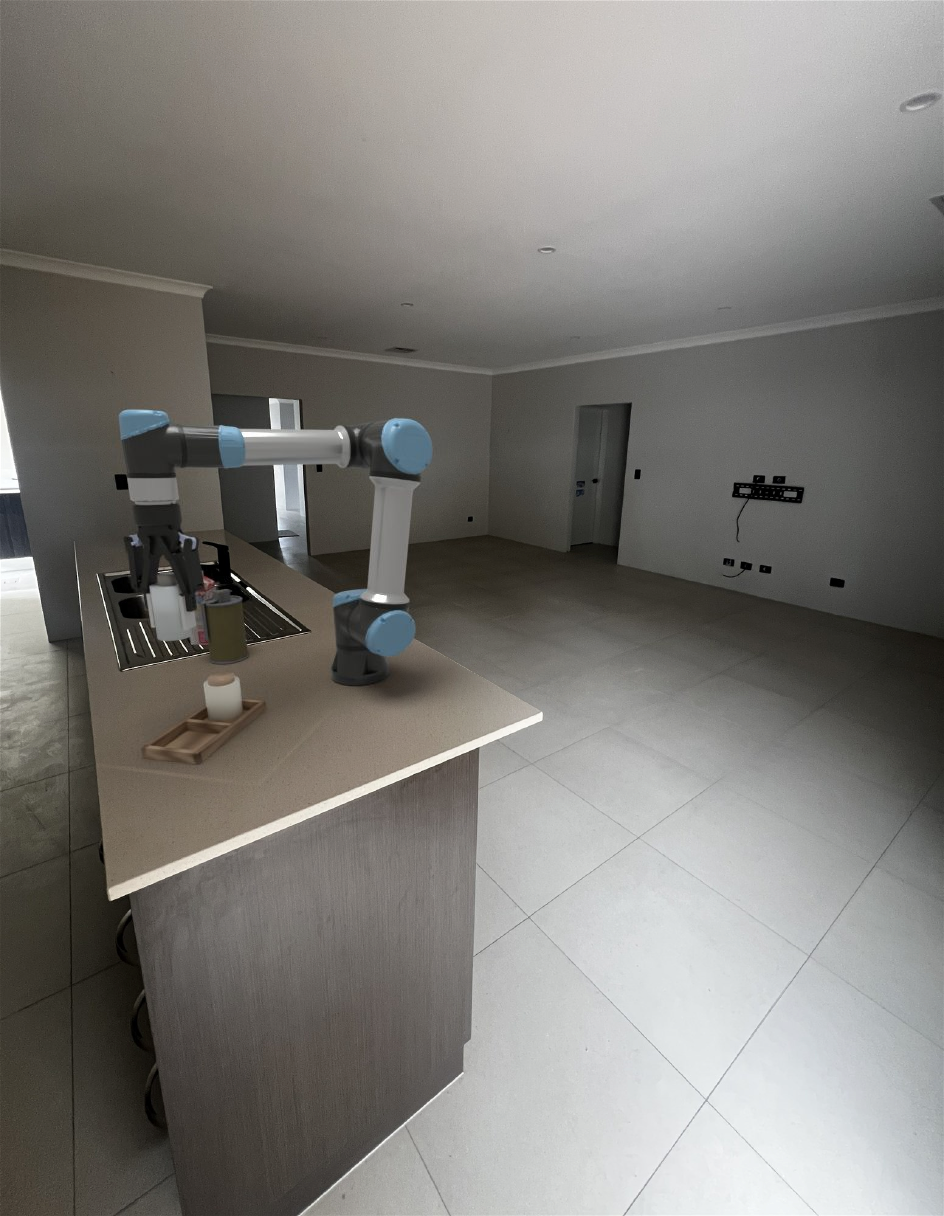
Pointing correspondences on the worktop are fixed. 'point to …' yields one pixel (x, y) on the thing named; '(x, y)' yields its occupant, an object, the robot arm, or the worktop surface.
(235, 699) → the ceramic jar
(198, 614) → the juice carton
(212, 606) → the canister
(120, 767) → the worktop surface
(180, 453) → the robot arm
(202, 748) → the caddy
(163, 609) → the plastic bottle
